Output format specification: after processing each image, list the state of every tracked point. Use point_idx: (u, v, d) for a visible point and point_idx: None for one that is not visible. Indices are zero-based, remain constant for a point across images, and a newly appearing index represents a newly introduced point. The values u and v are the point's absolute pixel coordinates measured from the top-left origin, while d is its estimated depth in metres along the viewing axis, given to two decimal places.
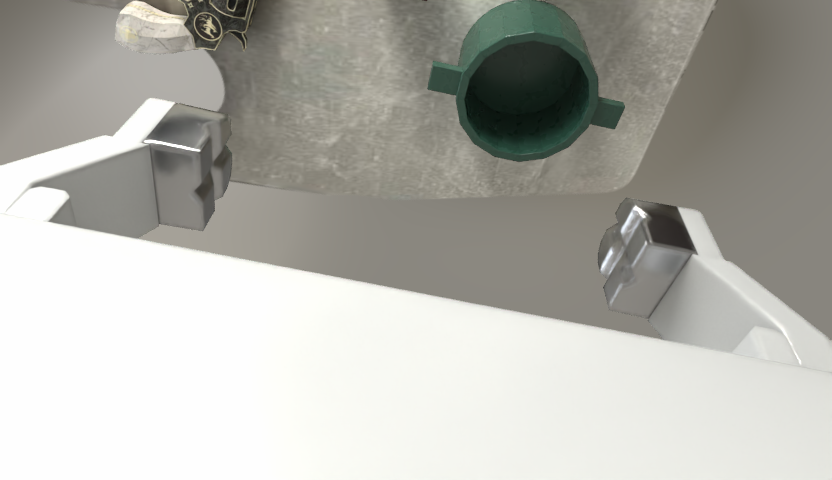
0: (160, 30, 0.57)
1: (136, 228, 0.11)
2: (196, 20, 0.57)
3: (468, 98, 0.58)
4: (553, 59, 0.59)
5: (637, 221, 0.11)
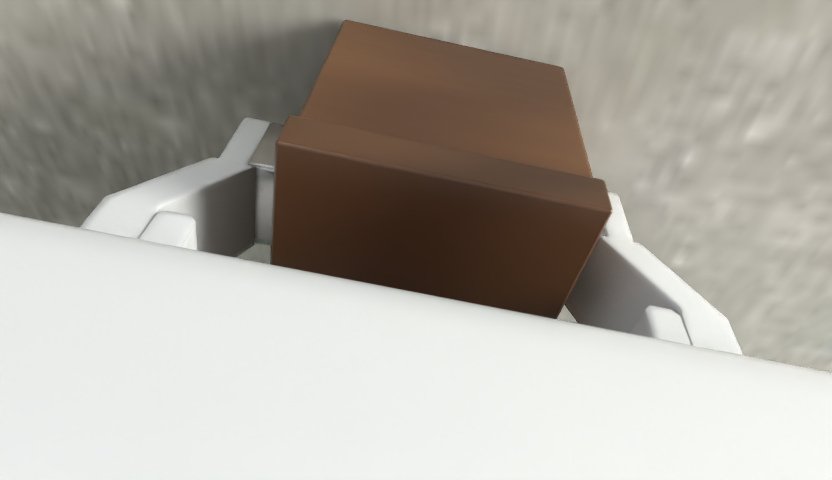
0: None
1: (236, 247, 0.11)
2: None
3: None
4: None
5: None
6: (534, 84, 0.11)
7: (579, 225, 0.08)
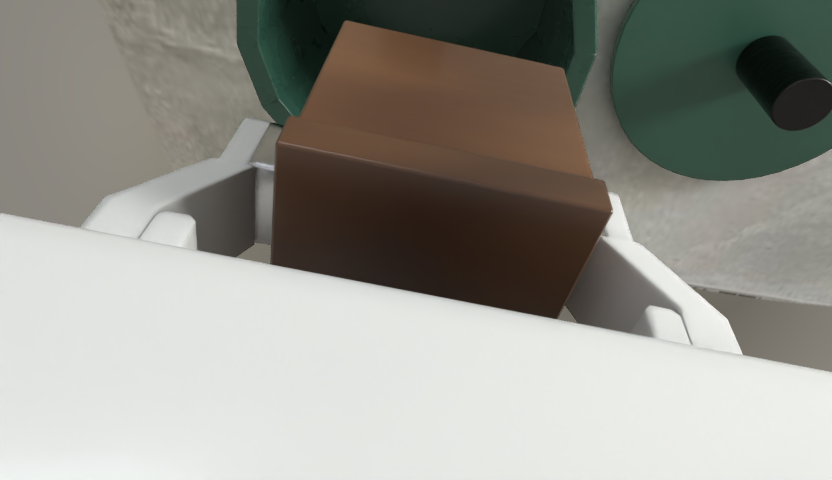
0: None
1: (236, 248, 0.11)
2: None
3: None
4: None
5: None
6: (534, 83, 0.11)
7: (580, 226, 0.08)
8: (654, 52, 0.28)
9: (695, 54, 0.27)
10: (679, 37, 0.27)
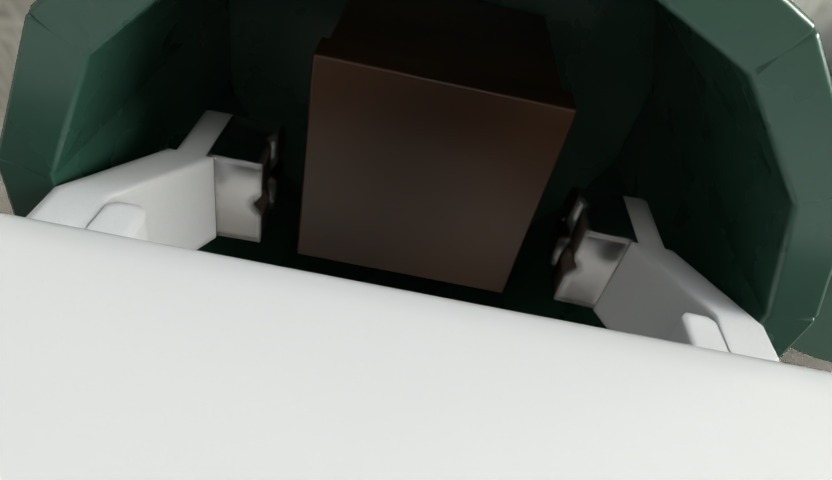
0: None
1: (196, 240, 0.11)
2: None
3: None
4: None
5: (581, 210, 0.11)
6: (520, 26, 0.13)
7: (551, 123, 0.11)
8: None
9: None
10: None
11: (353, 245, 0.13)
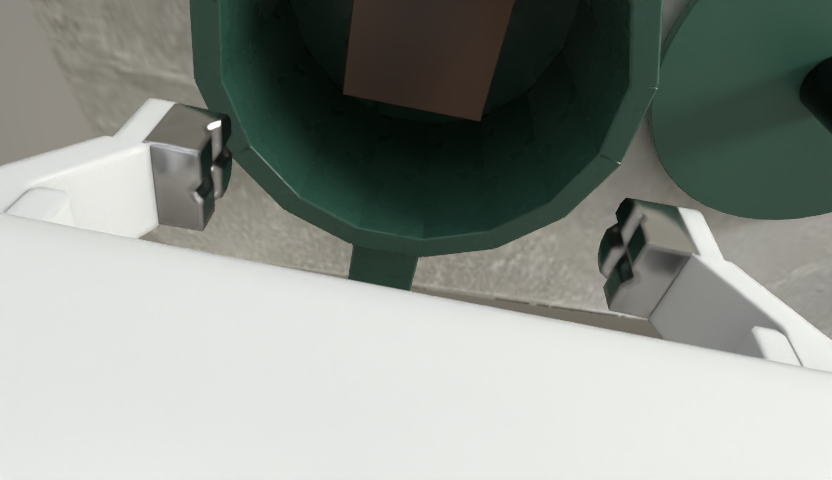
0: None
1: (136, 228, 0.11)
2: None
3: None
4: None
5: (637, 221, 0.11)
6: None
7: None
8: (703, 75, 0.23)
9: (752, 77, 0.23)
10: (734, 57, 0.23)
11: (380, 86, 0.20)
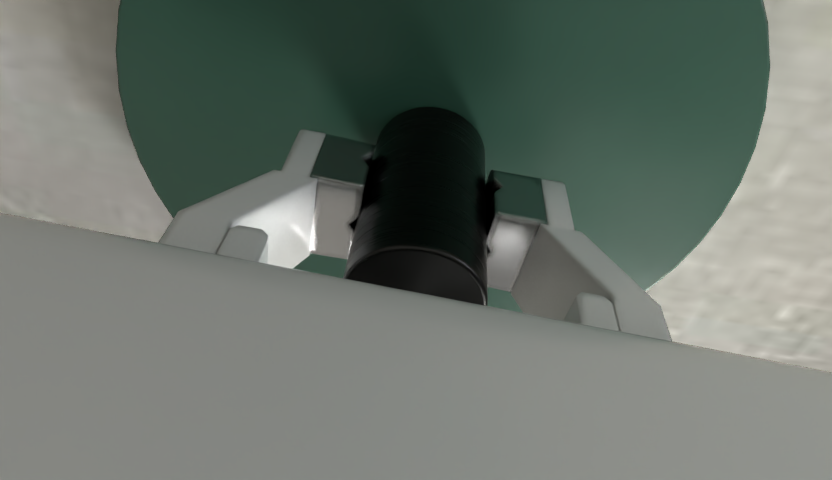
0: None
1: (293, 259, 0.11)
2: None
3: None
4: None
5: None
6: None
7: None
8: None
9: (442, 10, 0.11)
10: None
11: None
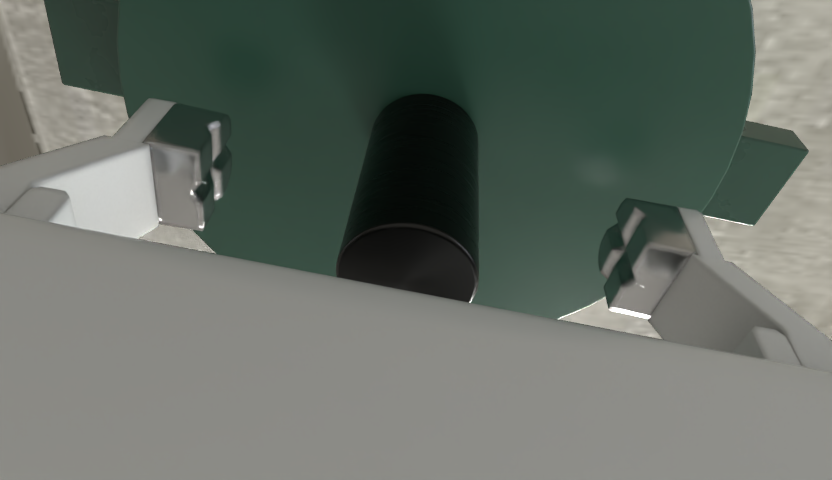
0: None
1: (136, 228, 0.11)
2: None
3: None
4: None
5: (637, 221, 0.11)
6: None
7: None
8: None
9: None
10: None
11: None
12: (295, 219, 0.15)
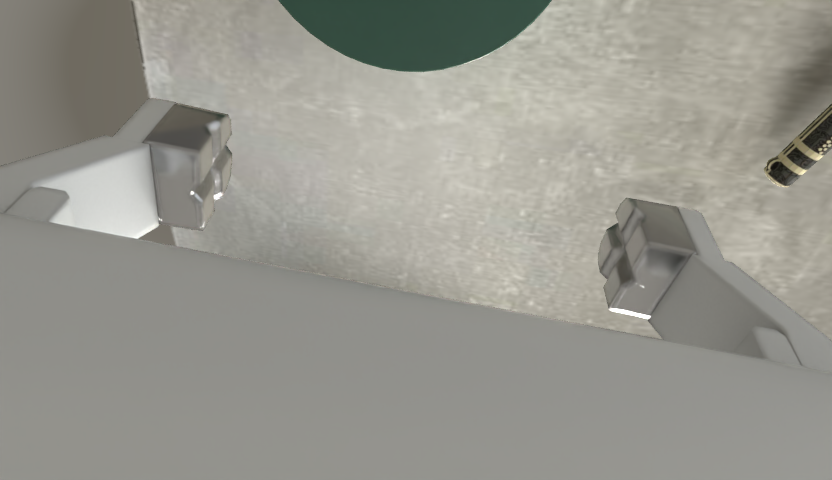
0: None
1: (136, 228, 0.11)
2: None
3: None
4: None
5: (637, 221, 0.11)
6: None
7: None
8: None
9: None
10: None
11: None
12: None
